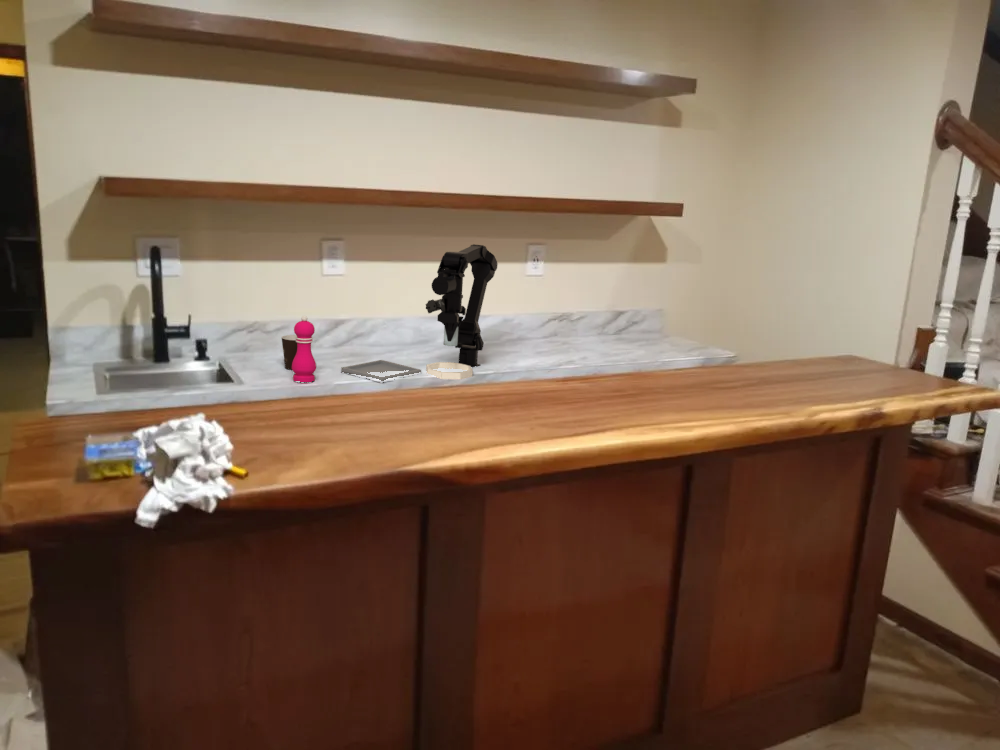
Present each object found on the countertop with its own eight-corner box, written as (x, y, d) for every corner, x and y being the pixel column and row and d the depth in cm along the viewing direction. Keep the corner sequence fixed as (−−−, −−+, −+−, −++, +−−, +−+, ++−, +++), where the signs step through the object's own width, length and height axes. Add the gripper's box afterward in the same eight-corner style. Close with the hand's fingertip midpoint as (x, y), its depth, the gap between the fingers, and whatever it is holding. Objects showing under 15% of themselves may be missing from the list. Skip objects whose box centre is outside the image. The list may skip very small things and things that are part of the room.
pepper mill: (293, 377, 243) (294, 313, 238) (317, 378, 244) (318, 314, 239) (289, 383, 236) (289, 317, 232) (314, 384, 237) (315, 318, 232)
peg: (449, 342, 260) (450, 324, 259) (460, 345, 258) (461, 326, 256) (440, 344, 257) (441, 326, 255) (451, 346, 254) (452, 328, 253)
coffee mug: (301, 372, 250) (302, 341, 248) (276, 369, 252) (276, 338, 249) (317, 364, 261) (317, 335, 259) (293, 361, 263) (293, 332, 260)
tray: (381, 364, 268) (381, 359, 267) (421, 374, 257) (421, 369, 257) (341, 372, 253) (341, 367, 253) (381, 383, 243) (381, 378, 243)
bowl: (446, 367, 269) (446, 360, 269) (480, 375, 261) (480, 368, 261) (417, 373, 258) (417, 366, 257) (451, 382, 250) (452, 375, 249)
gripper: (433, 286, 263) (431, 332, 267) (422, 293, 245) (420, 343, 248) (467, 289, 262) (464, 335, 266) (458, 296, 244) (455, 346, 247)
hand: (450, 339), depth 257 cm, fingers closed on peg, 4 cm apart
